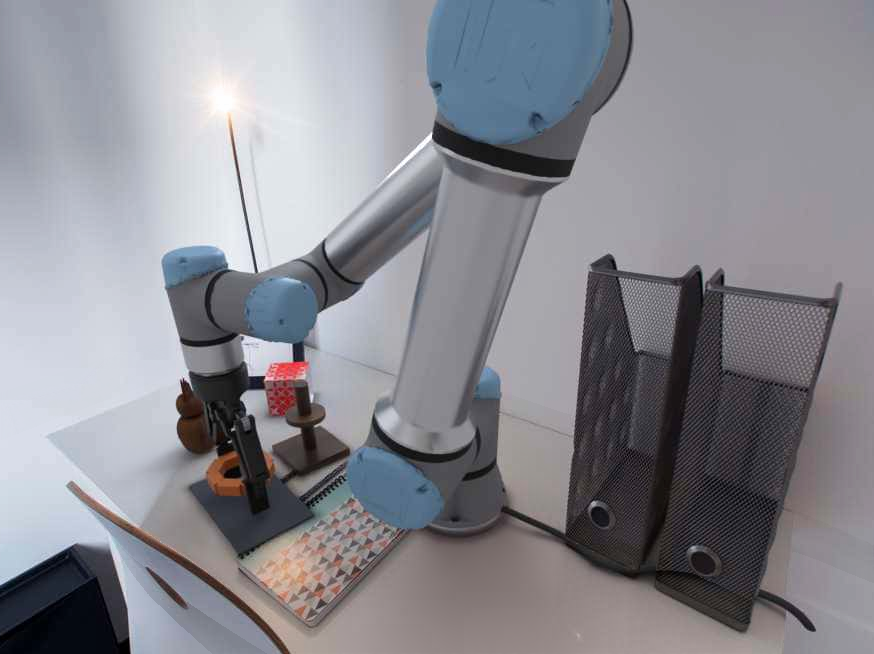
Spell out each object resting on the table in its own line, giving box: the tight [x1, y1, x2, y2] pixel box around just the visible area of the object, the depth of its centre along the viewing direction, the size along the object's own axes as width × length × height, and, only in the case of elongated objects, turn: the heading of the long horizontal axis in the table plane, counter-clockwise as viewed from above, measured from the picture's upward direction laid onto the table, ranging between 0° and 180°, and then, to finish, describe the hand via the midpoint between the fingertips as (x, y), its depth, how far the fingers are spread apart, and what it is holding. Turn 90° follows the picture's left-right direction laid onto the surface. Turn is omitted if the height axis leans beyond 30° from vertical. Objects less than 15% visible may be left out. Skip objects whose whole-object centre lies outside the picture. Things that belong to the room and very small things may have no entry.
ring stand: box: [271, 381, 351, 478], centre depth 91 cm, size 10×10×14 cm
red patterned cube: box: [263, 361, 315, 417], centre depth 108 cm, size 8×8×8 cm
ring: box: [205, 449, 276, 496], centre depth 81 cm, size 9×9×2 cm
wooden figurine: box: [175, 377, 215, 455], centre depth 93 cm, size 7×6×15 cm
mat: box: [188, 465, 316, 556], centre depth 83 cm, size 20×12×1 cm, turn 40°
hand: (246, 493), depth 83 cm, fingers closed on ring, 9 cm apart
